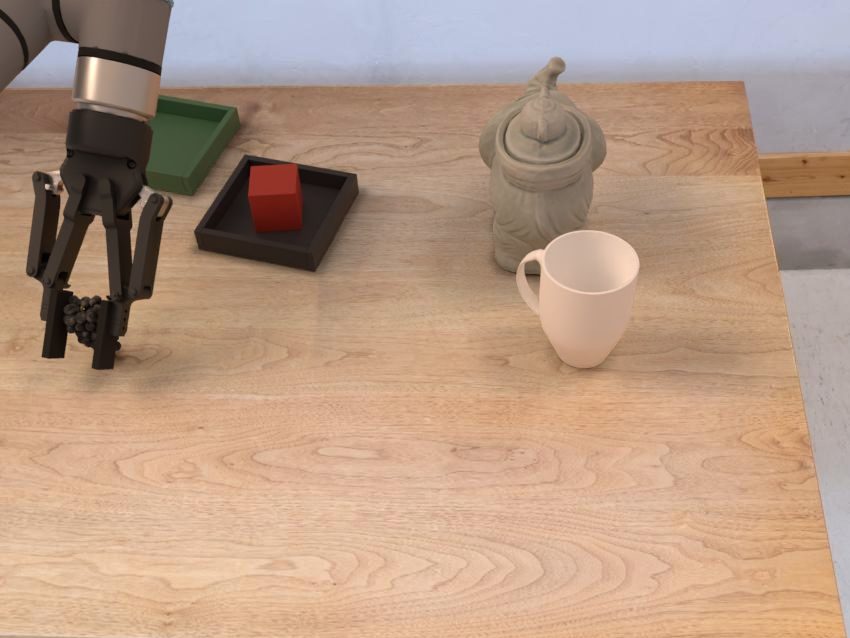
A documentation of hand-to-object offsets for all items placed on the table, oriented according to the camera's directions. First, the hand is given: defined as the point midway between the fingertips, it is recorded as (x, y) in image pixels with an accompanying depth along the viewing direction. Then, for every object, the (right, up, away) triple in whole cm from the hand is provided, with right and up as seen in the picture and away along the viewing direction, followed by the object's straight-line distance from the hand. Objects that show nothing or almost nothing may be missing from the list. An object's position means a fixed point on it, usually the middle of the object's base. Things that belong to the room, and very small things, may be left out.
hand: (77, 362), depth 107 cm
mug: (+47, +2, +4) cm, 48 cm away
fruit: (+1, +1, +5) cm, 5 cm away
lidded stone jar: (+45, +16, +15) cm, 50 cm away
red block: (+17, +17, +17) cm, 29 cm away
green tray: (+2, +27, +25) cm, 37 cm away
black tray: (+17, +17, +17) cm, 29 cm away
